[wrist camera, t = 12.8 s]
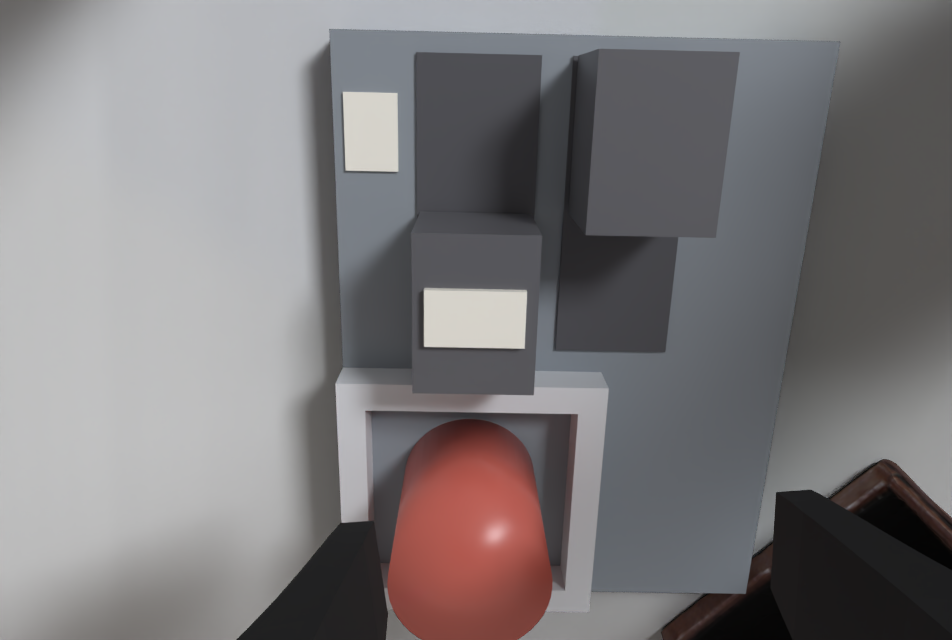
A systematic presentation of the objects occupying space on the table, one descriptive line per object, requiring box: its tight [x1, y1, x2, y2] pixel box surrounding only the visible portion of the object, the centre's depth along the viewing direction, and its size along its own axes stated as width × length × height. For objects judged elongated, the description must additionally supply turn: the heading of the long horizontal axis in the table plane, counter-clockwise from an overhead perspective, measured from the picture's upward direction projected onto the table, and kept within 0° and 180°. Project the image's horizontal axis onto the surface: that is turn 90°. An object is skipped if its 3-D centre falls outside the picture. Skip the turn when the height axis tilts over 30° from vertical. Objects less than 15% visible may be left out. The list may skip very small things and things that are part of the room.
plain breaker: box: [568, 49, 740, 238], centre depth 17 cm, size 3×4×3 cm
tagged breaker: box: [411, 212, 542, 395], centre depth 18 cm, size 3×4×3 cm
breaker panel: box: [329, 29, 840, 612], centre depth 20 cm, size 13×17×2 cm
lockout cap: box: [387, 419, 553, 640], centre depth 19 cm, size 4×4×5 cm
